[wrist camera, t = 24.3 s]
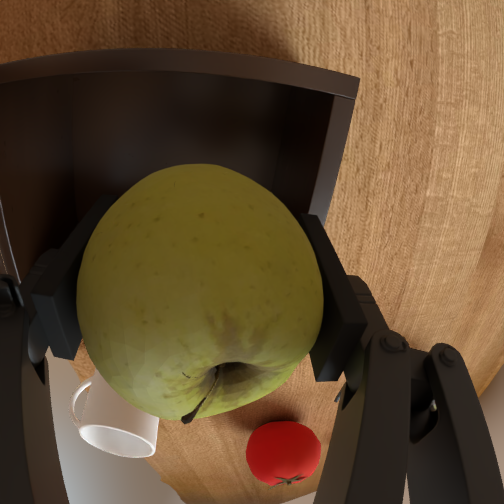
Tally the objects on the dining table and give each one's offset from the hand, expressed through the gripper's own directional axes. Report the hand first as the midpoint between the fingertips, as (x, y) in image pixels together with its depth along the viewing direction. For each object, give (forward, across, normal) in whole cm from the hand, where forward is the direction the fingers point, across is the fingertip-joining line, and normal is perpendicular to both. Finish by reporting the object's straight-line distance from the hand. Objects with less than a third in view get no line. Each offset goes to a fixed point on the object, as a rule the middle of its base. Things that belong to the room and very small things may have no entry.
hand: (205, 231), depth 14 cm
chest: (+12, -4, 0) cm, 13 cm away
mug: (+12, -10, -25) cm, 29 cm away
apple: (+1, 0, 0) cm, 1 cm away
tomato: (+12, +14, -41) cm, 45 cm away
